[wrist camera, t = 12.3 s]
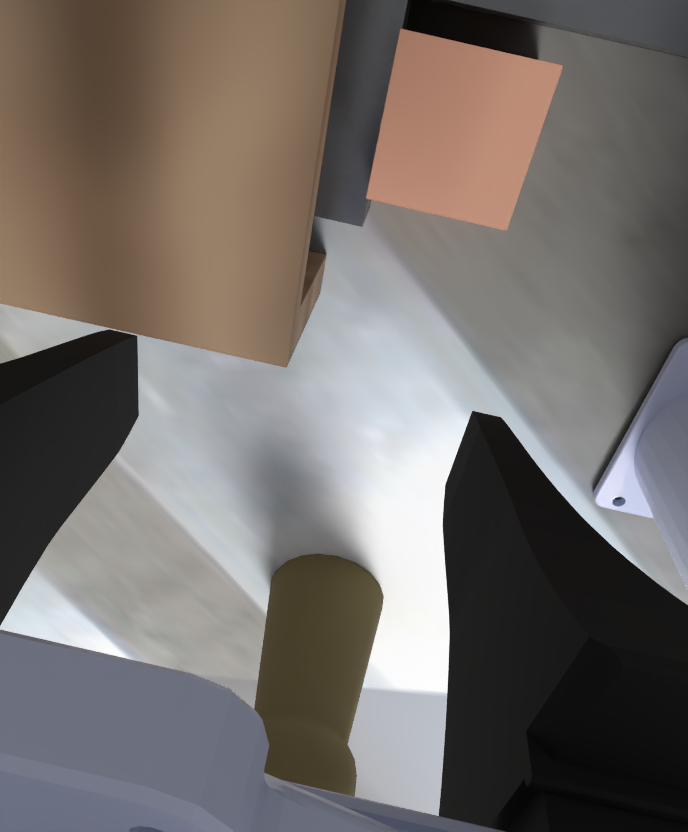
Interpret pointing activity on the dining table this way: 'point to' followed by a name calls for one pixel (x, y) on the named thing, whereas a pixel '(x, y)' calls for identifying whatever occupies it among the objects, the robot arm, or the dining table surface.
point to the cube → (459, 128)
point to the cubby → (166, 165)
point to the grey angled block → (374, 56)
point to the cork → (316, 668)
